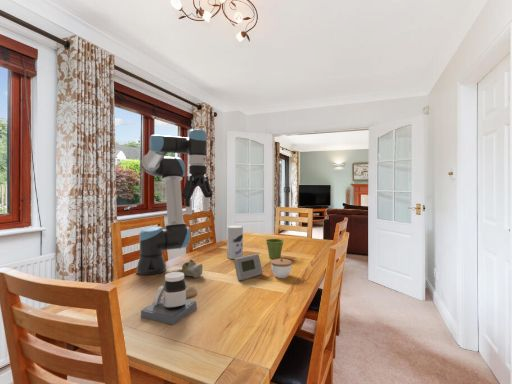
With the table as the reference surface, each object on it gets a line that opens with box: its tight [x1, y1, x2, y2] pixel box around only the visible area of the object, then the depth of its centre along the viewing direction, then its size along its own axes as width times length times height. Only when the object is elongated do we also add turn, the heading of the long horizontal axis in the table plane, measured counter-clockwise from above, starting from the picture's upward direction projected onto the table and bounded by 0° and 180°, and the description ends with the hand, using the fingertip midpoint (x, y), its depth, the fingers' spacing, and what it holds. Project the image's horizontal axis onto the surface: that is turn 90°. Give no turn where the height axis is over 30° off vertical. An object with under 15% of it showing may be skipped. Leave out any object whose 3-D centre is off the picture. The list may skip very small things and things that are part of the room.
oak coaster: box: [186, 286, 198, 300], centre depth 119 cm, size 10×10×1 cm
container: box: [226, 225, 244, 260], centre depth 177 cm, size 10×10×20 cm
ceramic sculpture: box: [176, 259, 203, 279], centre depth 142 cm, size 11×9×15 cm
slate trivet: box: [140, 297, 197, 326], centre depth 102 cm, size 14×14×3 cm
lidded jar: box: [270, 257, 293, 279], centre depth 142 cm, size 11×11×9 cm
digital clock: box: [233, 253, 263, 281], centre depth 141 cm, size 16×9×11 cm, turn 119°
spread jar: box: [152, 271, 187, 310], centre depth 101 cm, size 12×11×12 cm
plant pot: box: [265, 238, 285, 260], centre depth 177 cm, size 12×12×11 cm
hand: (197, 212), depth 123 cm, fingers open, 13 cm apart
